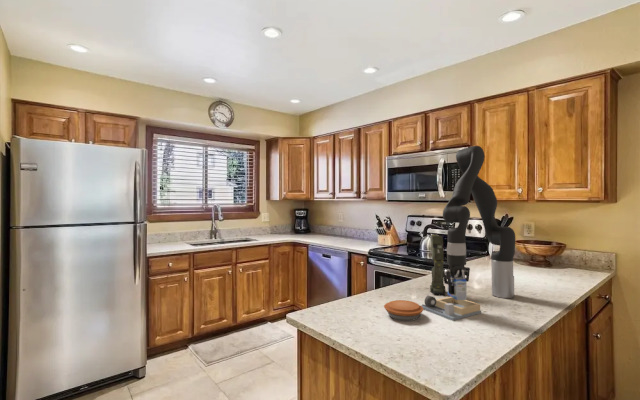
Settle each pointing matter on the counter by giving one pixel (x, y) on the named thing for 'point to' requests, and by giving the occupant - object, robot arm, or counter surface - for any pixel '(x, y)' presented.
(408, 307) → the pie
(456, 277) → the robot arm
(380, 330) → the counter surface
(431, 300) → the wheel
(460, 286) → the medicine box
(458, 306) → the chassis
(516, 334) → the counter surface
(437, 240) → the mechanical leg
